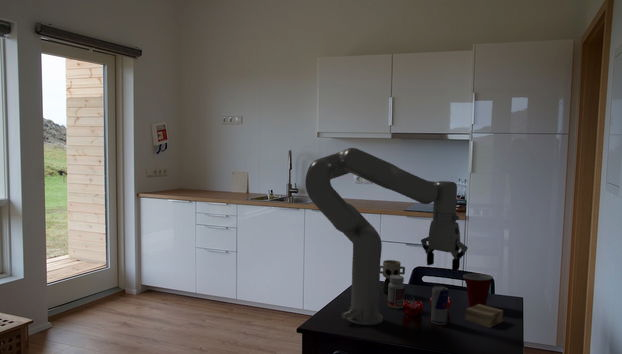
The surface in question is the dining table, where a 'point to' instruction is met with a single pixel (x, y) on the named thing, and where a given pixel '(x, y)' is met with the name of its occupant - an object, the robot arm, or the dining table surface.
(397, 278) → the pill bottle
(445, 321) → the energy drink
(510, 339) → the dining table surface
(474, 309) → the oak block
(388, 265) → the character mug
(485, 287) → the plastic cup
